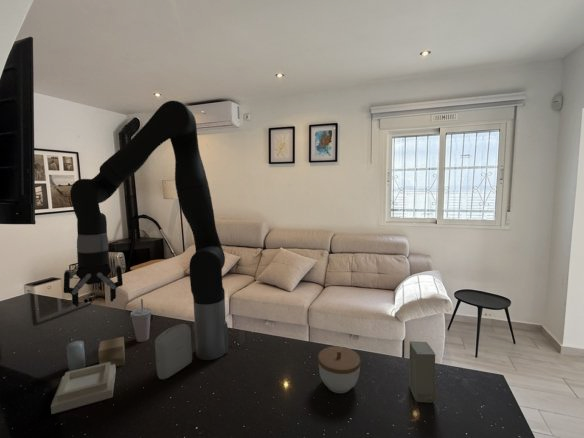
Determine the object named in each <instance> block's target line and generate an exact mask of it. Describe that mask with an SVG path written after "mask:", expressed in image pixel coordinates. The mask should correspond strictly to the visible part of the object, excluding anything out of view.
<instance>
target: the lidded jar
mask: <svg viewBox="0 0 584 438" xmlns="http://www.w3.org/2000/svg"><path fill="white" fill-rule="evenodd" d="M317 362H318V372H319V376H320V378H321V381H322V382H323V384H324V385H325V386H326V387H327V388H328V390H329V391H331V392H333V393H335V394H345V393H347V392H350V390H351V389H352V388H354V387H355V386H356V384H357V382H358V380H359V377H360V372H361V371H360V369H361V357H360V355H359V354H358V353H357V352H356V351H354V350H353V349H351V348H348V347H345V346H334V345H333V346H328V347H325V348H324V349H322V350H320V352H319V353H318V355H317Z"/></svg>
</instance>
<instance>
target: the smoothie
mask: <svg viewBox="0 0 584 438" xmlns="http://www.w3.org/2000/svg"><path fill="white" fill-rule="evenodd" d="M140 304H141V306H140V308H138V309H135V310H132V311H131V312H130V319H131V320H132V324H133V329H134V334H135V339H136V341H137V342H139V343H143V342H146V341H147V340H149V338H150V330H151V329H150V326H151V315H152V313H153V312H152V308H148V307H144V300H143V298H141V299H140Z"/></svg>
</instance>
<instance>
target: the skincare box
mask: <svg viewBox="0 0 584 438" xmlns="http://www.w3.org/2000/svg"><path fill="white" fill-rule="evenodd" d="M408 368H409V371H408V373H409V374H408V375H409V376H408V384H409V385H408V387H409V389H410V392H411V393H412V396H413V398H414V400H415V402H416V403H428V404H429V403H430V404H431V403H432V404H433V403H435V379H436V378H435V376H436V373H435V372H436V353H435V351H434V350H433V349H432V348H431V346H430V345H429V343H428V342H427V341H414V340H413V341H409V364H408Z"/></svg>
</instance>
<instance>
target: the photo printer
mask: <svg viewBox="0 0 584 438" xmlns="http://www.w3.org/2000/svg"><path fill="white" fill-rule="evenodd" d="M192 347H193V346H192V332H191V328H190V326H189V325H188V324H186V323H181V324H177V325H173V326H172V327H169V328H167V329H165V330H164V331H163V332H161V333H160V334H159V335H158V336H157V337H156V338H155V340H154V348H155V350H154V352H155V365H156V366H155V367H156V374H157V377H158V379H159V380H166V379H168V378H170V377H171V376H174V375H175V374H177V373H178V372H180V371H181V370H183V369H184V368H186V367H187V366H189V365H190V364H191V363H192V362H193V351H192V349H193V348H192Z"/></svg>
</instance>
